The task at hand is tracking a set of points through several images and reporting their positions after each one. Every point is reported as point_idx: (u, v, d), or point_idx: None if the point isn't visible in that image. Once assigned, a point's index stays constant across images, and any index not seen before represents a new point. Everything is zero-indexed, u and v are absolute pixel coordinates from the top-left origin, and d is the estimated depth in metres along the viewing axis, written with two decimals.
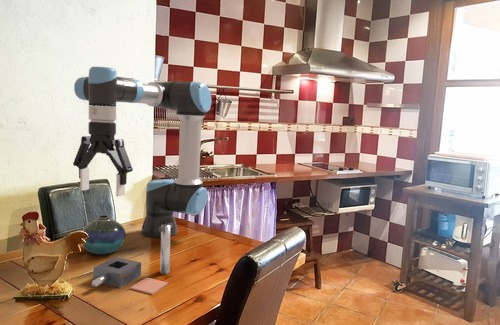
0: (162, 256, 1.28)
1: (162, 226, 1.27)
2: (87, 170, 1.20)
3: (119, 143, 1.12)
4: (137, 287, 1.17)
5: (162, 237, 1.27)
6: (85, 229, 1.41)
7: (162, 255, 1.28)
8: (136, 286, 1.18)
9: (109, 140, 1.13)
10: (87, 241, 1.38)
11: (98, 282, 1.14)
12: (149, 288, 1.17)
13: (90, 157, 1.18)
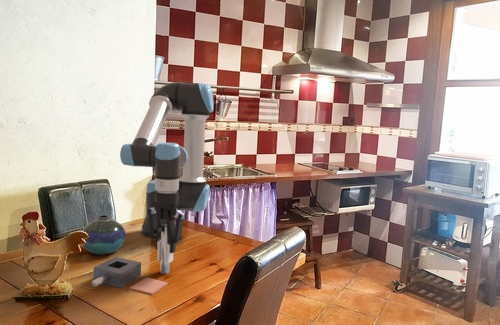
0: (162, 256, 1.28)
1: (162, 226, 1.27)
2: None
3: (181, 218, 1.25)
4: (137, 287, 1.17)
5: (162, 237, 1.27)
6: (85, 229, 1.41)
7: (162, 255, 1.28)
8: (136, 286, 1.18)
9: (174, 210, 1.25)
10: (87, 241, 1.38)
11: (98, 282, 1.14)
12: (149, 288, 1.17)
13: None
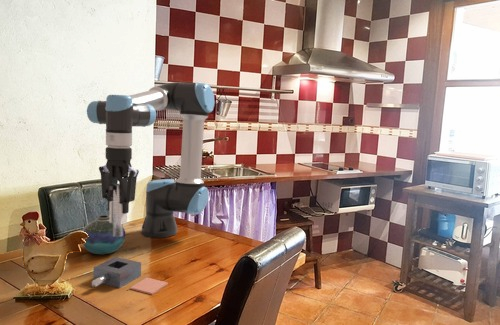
0: (114, 217, 1.20)
1: (114, 185, 1.19)
2: None
3: (133, 175, 1.16)
4: (137, 287, 1.17)
5: (114, 197, 1.19)
6: (85, 229, 1.41)
7: (114, 216, 1.20)
8: (136, 286, 1.18)
9: (126, 166, 1.17)
10: (87, 241, 1.38)
11: (98, 282, 1.14)
12: (149, 288, 1.17)
13: None
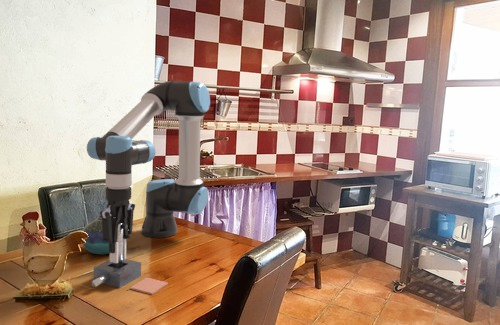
0: None
1: None
2: (123, 241, 1.23)
3: (102, 216, 1.16)
4: (137, 287, 1.17)
5: None
6: (85, 229, 1.41)
7: None
8: (136, 286, 1.18)
9: None
10: (87, 241, 1.38)
11: (98, 282, 1.14)
12: (149, 288, 1.17)
13: None
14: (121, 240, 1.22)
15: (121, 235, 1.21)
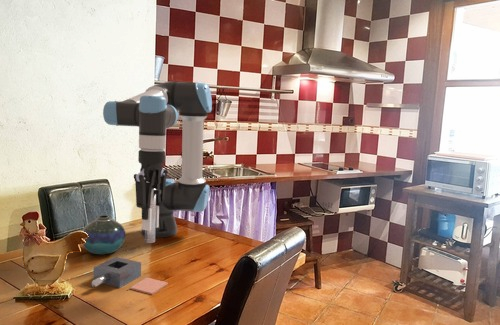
0: None
1: None
2: None
3: (135, 179, 1.09)
4: (137, 287, 1.17)
5: None
6: (85, 229, 1.41)
7: None
8: (136, 286, 1.18)
9: None
10: (87, 241, 1.38)
11: (98, 282, 1.14)
12: (149, 288, 1.17)
13: None
14: (154, 206, 1.15)
15: (154, 201, 1.15)
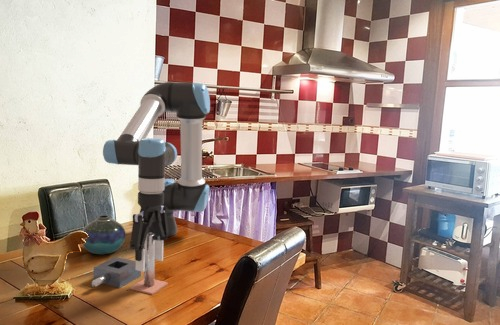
0: None
1: None
2: (160, 242, 1.21)
3: (134, 219, 1.11)
4: (137, 287, 1.17)
5: None
6: (85, 229, 1.41)
7: None
8: (136, 286, 1.18)
9: None
10: (87, 241, 1.38)
11: (98, 282, 1.14)
12: (149, 288, 1.17)
13: (156, 227, 1.20)
14: (153, 251, 1.17)
15: (153, 246, 1.17)
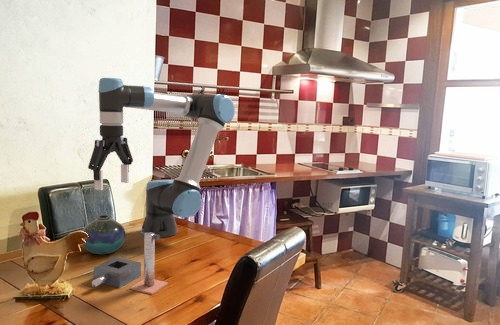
0: None
1: (145, 232, 1.18)
2: (125, 166, 1.41)
3: (96, 143, 1.28)
4: (137, 287, 1.17)
5: None
6: (85, 229, 1.41)
7: None
8: (136, 286, 1.18)
9: None
10: (87, 241, 1.38)
11: (98, 282, 1.14)
12: (149, 288, 1.17)
13: (120, 155, 1.39)
14: (153, 251, 1.17)
15: (153, 246, 1.17)
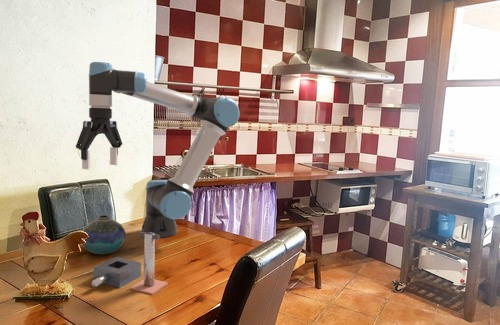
0: None
1: (146, 232, 1.18)
2: (114, 149, 1.46)
3: (84, 124, 1.33)
4: (137, 287, 1.17)
5: None
6: (85, 229, 1.41)
7: None
8: (136, 286, 1.18)
9: None
10: (87, 241, 1.38)
11: (98, 282, 1.14)
12: (149, 288, 1.17)
13: (109, 138, 1.44)
14: (153, 251, 1.17)
15: (153, 246, 1.17)
